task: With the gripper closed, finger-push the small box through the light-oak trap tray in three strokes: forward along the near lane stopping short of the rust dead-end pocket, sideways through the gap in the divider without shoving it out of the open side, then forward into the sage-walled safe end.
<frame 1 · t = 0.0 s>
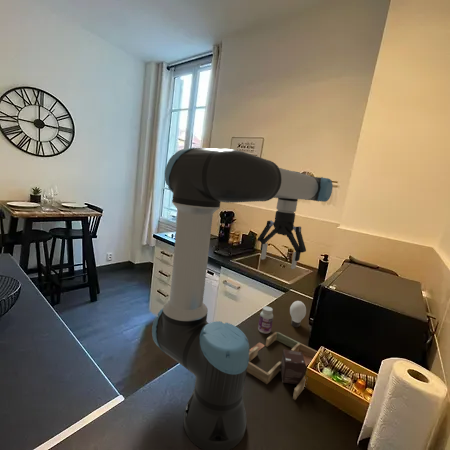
hand: (277, 263, 106), 28 cm above the worktop, fingers open, 13 cm apart
light bulb: (295, 325, 116), on the worktop
trap tray: (277, 360, 90), on the worktop
box: (290, 378, 83), touching trap tray
pill bottle: (264, 330, 108), on the worktop
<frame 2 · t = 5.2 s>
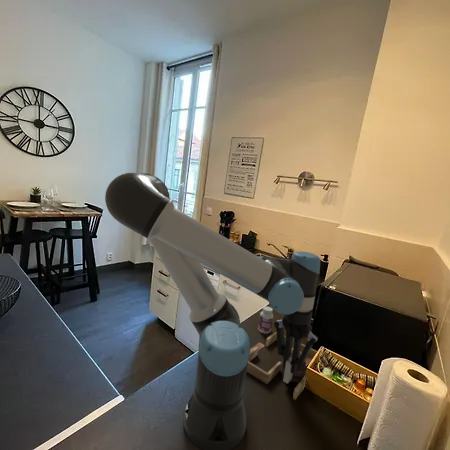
hand: (287, 380, 79), 2 cm above the worktop, fingers closed
box: (291, 376, 83), on the worktop, touching gripper
everything else where it was.
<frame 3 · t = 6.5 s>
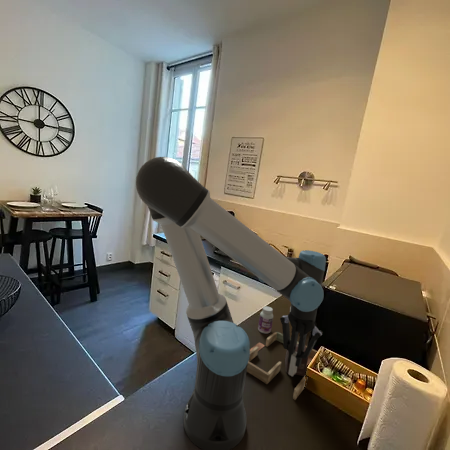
hand: (292, 373, 82), 2 cm above the worktop, fingers closed
box: (294, 369, 87), on the worktop, touching gripper
everything else where it was.
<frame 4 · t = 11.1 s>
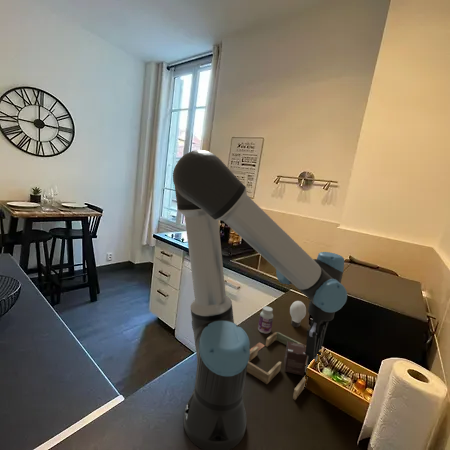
hand: (309, 372, 84), 2 cm above the worktop, fingers closed
nothing on the worktop moved.
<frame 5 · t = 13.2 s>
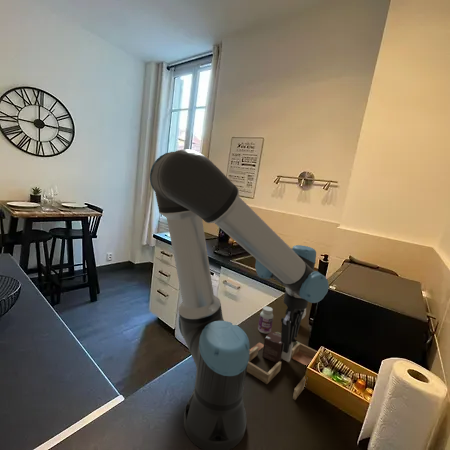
hand: (285, 359, 89), 2 cm above the worktop, fingers closed
box: (272, 357, 92), on the worktop
everything else where it was.
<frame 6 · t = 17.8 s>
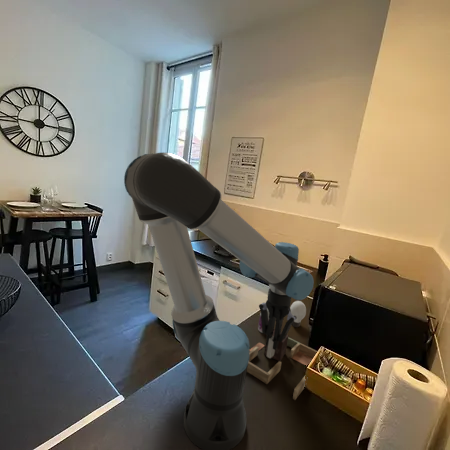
hand: (270, 355, 89), 2 cm above the worktop, fingers closed
box: (274, 354, 94), on the worktop, touching gripper
everything else where it was.
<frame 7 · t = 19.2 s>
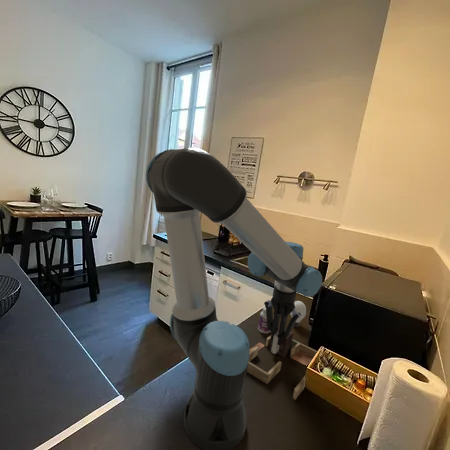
hand: (274, 351, 92), 2 cm above the worktop, fingers closed
box: (279, 350, 96), on the worktop
everything else where it was.
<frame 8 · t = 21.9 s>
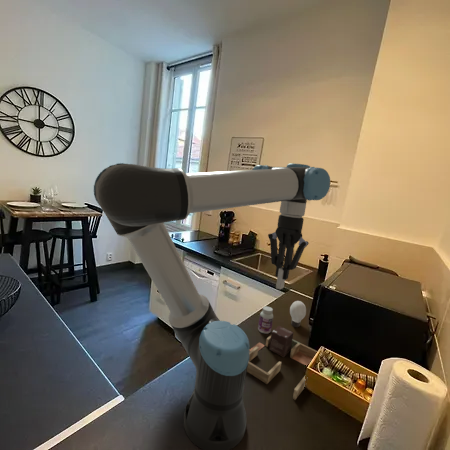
hand: (279, 287, 85), 26 cm above the worktop, fingers closed
nothing on the worktop moved.
at the end: box inside the target area (0.8 cm from its centre), on the worktop; box tilted 0° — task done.
